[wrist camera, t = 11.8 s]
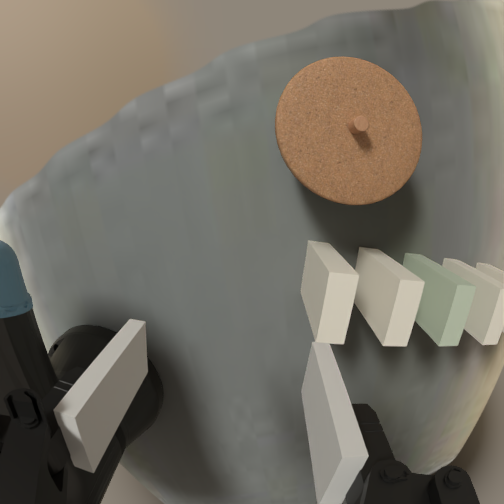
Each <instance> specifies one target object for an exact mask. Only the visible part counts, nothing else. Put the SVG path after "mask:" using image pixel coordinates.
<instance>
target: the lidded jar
mask: <svg viewBox="0 0 504 504" xmlns="http://www.w3.org/2000/svg"><path fill="white" fill-rule="evenodd" d="M275 133H276V138H277V144H278V147H279V150H280V153H281V156H282V158H283V160H284V162H285V164H286V165H287V167H288V168H289V170H290V171H291V172H292V174H293V175H294V176H295V177H296V178H297V179H298V180H299V181H300V182H301V183H302V184H303V185H304V186H305V187H307V188H308V189H309V190H311V191H312V192H313V193H315V194H317V195H319V196H321V197H323V198H325V199H327V200H330V201H333V202H336V203H341V204H347V205H365V204H372V203H375V202H378V201H381V200H383V199H385V198H387V197H389V196H391V195H393V194H394V193H395V192H397V191H398V190H399V189H400V188H401V187H402V186H403V185H404V184H405V183H406V182H407V181H408V180H409V178H410V177H411V175H412V173H413V172H414V170H415V168H416V165H417V163H418V160H419V157H420V153H421V146H422V128H421V123H420V118H419V115H418V112H417V109H416V106H415V104H414V103H413V101H412V99H411V97H410V95H409V94H408V92H407V91H406V90H405V88H404V87H403V86H402V85H401V84H400V82H399V81H398V80H397V79H396V78H395V77H393V76H392V75H391V74H390V73H388V72H387V71H386V70H384V69H382V68H381V67H379V66H377V65H375V64H373V63H370V62H368V61H366V60H362V59H358V58H353V57H331V58H326V59H322V60H319V61H317V62H314V63H312V64H310V65H308V66H306V67H305V68H303V69H302V70H300V71H299V72H298V73H297V74H296V75H295V76H294V77H293V78H292V79H291V80H290V82H289V83H288V84H287V86H286V87H285V89H284V91H283V93H282V95H281V97H280V100H279V103H278V106H277V111H276V118H275Z"/></svg>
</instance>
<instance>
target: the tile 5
mask: <svg viewBox="0 0 504 504" xmlns="http://www.w3.org/2000/svg"><path fill="white" fill-rule="evenodd" d="M476 269H477V270H479V271H481V272H483V273H485V274H486V275H488V276H490V277H492V278H494V279H496V280H498V281H499V282H501V283H503V284H504V271H502V270H500V269H498V268H496V267H494V266H491V265H489V264H484V263H477V265H476ZM502 332H503V333H504V327H503V330H502Z"/></svg>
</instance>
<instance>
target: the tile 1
mask: <svg viewBox="0 0 504 504" xmlns="http://www.w3.org/2000/svg"><path fill="white" fill-rule="evenodd" d="M358 279H359V274H358V273H357V272H356V271H355V270H354V269H353V268H352V267H351V266H350V265H349V264H348V262H347V261H346V260H345V259H344V258H343V257H342V256H341V255H340V254H339V253H338V252H337V251H336V250H335V249H334V248H333V247H332V246H331V244H330V243H324V242H316V241H308V245H307V252H306V259H305V266H304V272H303V279H302V285H301V291H300V292H301V295H302V299H303V302H304V305H305V308H306V312H307V315H308V318H309V322H310V325H311V328H312V332H313V335H314V339H315V342H321V343H330V344H344V341H345V337H346V333H347V329H348V325H349V321H350V316H351V312H352V307H353V303H354V298H355V294H356V289H357V284H358Z"/></svg>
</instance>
